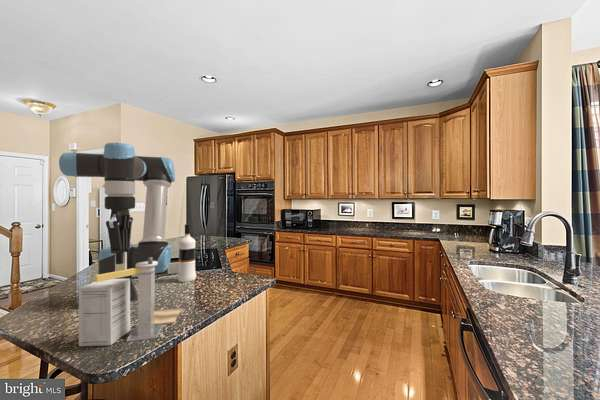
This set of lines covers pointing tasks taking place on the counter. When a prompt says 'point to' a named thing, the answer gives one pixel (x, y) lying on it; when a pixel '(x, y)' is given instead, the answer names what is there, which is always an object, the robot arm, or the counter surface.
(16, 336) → the counter surface
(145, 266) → the handwheel arm
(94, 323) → the supplement box
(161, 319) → the trivet
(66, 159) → the robot arm
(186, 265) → the vodka
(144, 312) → the post
